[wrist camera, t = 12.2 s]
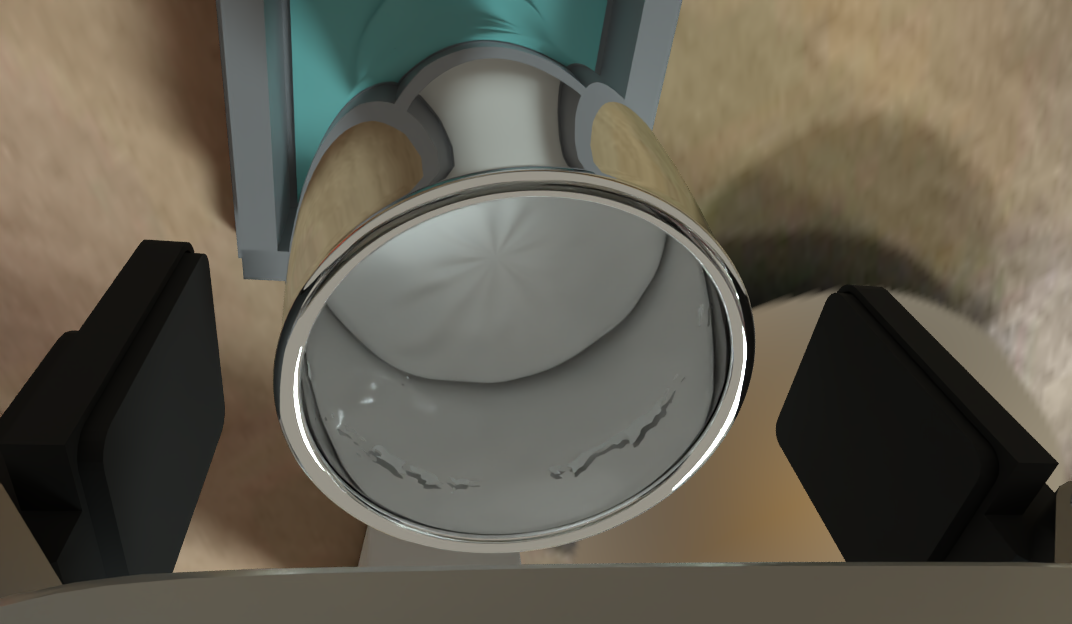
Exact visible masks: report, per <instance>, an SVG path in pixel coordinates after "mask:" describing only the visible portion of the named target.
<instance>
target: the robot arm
mask: <svg viewBox="0 0 1072 624" xmlns="http://www.w3.org/2000/svg"><path fill="white" fill-rule="evenodd" d="M224 416H225V403H224V394H223V385H222V376H221V367H220V358H219V349H218V340H217V331H216V322H215V313H214V304H213V295H212V286H211V277H210V268H209V261H208V258H207V256H206V254H200V253H194V249H193V247H192V245H191V244H190V243H189V242H174V241H159V240H143V241H142V242H141V243H140V245H139V246H138V247H137V249H136V250H135V252H134V253H133V254H132V256H131V257H130V259H129V260H128V262H127V263H126V264H125V266H124V267H123V269H122V270H121V271H120V273H119V274H118V276H117V277H116V279H115V280H114V281H113V283H112V284H111V286H110V287H109V289H108V290H107V291H106V293H105V294H104V296H103V297H102V298H101V300H100V301H99V303H98V304H97V306H96V307H95V308H94V310H93V311H92V313H91V314H90V315H89V317H88V318H87V320H86V321H85V323H84V324H83V325H82V327H81V328H80V330H79V331H69V332H65V333H64V334H63V335H62V336H61V337H60V338H59V339H58V340H57V342H56V343H55V344H54V346H53V347H52V348H51V350H50V351H49V352H48V354H47V355H46V357H45V358H44V359H43V361H42V362H41V363H40V365H39V366H38V367H37V369H36V370H35V372H34V373H33V374H32V376H31V377H30V378H29V380H28V381H27V382H26V384H25V385H24V387H23V388H22V389H21V391H20V392H19V393H18V395H17V396H16V397H15V399H14V400H13V402H12V403H11V404H10V406H9V407H8V408H7V410H6V411H5V412H4V414H3V415H2V417H1V418H0V624H1072V481H1069V482H1067V483H1065V484H1063V485H1061V486H1059V488H1058V489H1057V491H1056V492H1055V493H1054V492H1053V491H1052V490H1051V489H1050V488H1049V486H1048V485H1046V483H1045V482H1046V481H1047V480H1048V478H1049V477H1050V475H1051V474H1052V472H1053V471H1054V470H1055V468H1056V467H1057V465H1058V464H1059V463H1058V462H1057V461H1056V460H1055V459H1054V458H1053V457H1052V456H1051V455H1050V454H1049V453H1048V452H1047V451H1046V450H1045V449H1044V448H1043V447H1042V446H1041V445H1040V444H1039V443H1038V442H1037V441H1036V440H1035V439H1034V438H1033V437H1032V436H1031V435H1030V434H1029V433H1028V432H1027V431H1026V430H1025V429H1024V428H1023V427H1022V426H1021V425H1020V424H1019V423H1018V422H1017V421H1016V420H1015V419H1014V418H1013V417H1012V416H1011V415H1010V414H1009V413H1008V412H1007V411H1006V410H1005V409H1004V408H1003V407H1002V406H1001V405H1000V404H999V403H998V402H997V401H996V400H995V399H994V398H993V397H992V396H991V395H990V394H989V393H988V392H987V391H986V390H985V389H984V388H983V387H982V386H981V385H980V384H979V383H978V382H977V381H976V380H975V379H974V378H973V376H972V375H971V374H969V372H967V370H965V368H964V367H963V366H962V365H961V364H960V363H959V362H958V361H957V360H956V359H955V358H954V357H952V355H951V354H949V352H948V351H947V350H946V349H945V348H944V347H943V346H942V345H941V344H940V343H939V342H938V341H937V340H936V339H935V338H934V337H933V336H932V335H931V334H930V333H929V332H928V331H927V330H926V329H925V328H924V327H923V326H922V325H921V324H920V323H919V322H918V321H917V320H916V319H915V318H914V317H913V316H912V315H911V314H910V313H909V312H908V311H907V310H906V309H905V308H904V307H903V306H902V305H901V304H900V303H899V302H898V301H897V300H896V299H895V298H894V297H893V296H892V295H891V294H890V293H889V292H888V291H887V290H886V289H884V288H883V287H876V286H861V285H845V286H842V287H841V288H840V289H839V290H838V291H837V293H833V294H831V295H830V296H829V297H828V299H827V300H826V302H825V305H824V307H823V310H822V312H821V315H820V317H819V319H818V322H817V324H816V327H815V329H814V332H813V334H812V337H811V339H810V342H809V344H808V346H807V349H806V352H805V354H804V356H803V359H802V361H801V363H800V366H799V369H798V371H797V373H796V376H795V378H794V381H793V383H792V385H791V388H790V390H789V393H788V395H787V398H786V400H785V403H784V405H783V408H782V410H781V412H780V415H779V417H778V420H777V423H776V436H777V440H778V442H779V445H780V447H781V448H782V450H783V452H784V454H785V455H786V457H787V459H788V461H789V462H790V464H791V466H792V467H793V469H794V471H795V473H796V475H797V476H798V478H799V480H800V482H801V483H802V485H803V487H804V489H805V491H806V492H807V494H808V496H809V498H810V499H811V501H812V503H813V505H814V506H815V508H816V510H817V512H818V513H819V515H820V517H821V518H822V520H823V522H824V524H825V526H826V527H827V529H828V531H829V533H830V534H831V536H832V538H833V540H834V542H835V543H836V545H837V547H838V549H839V550H840V552H841V554H842V556H843V557H844V559H845V561H846V562H750V563H748V562H740V563H625V564H624V563H621V564H619V563H616V564H524V565H452V566H380V567H319V568H265V569H242V570H221V571H200V572H179V573H173V570H174V567H175V564H176V561H177V558H178V555H179V553H180V550H181V547H182V544H183V541H184V538H185V535H186V532H187V530H188V527H189V524H190V521H191V518H192V515H193V512H194V510H195V507H196V504H197V501H198V498H199V495H200V492H201V489H202V487H203V484H204V481H205V478H206V475H207V472H208V469H209V466H210V464H211V461H212V458H213V455H214V452H215V449H216V446H217V443H218V441H219V438H220V435H221V432H222V428H223V424H224Z"/></svg>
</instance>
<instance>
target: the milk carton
mask: <svg viewBox="0 0 1072 624" xmlns="http://www.w3.org/2000/svg"><path fill="white" fill-rule="evenodd" d="M452 565H521V559H520V553H519V552H515V553H495V554H480V553H464V552H455V551H447V550H441V549H435V548H430V547H426V546H421V545H418V544H414V543H411V542H407V541H404V540H401V539H398V538H396V537H393V536H390V535H388V534H385V533H383V532H381V531H379V530H376V529H374V528H372V527H370V526H368V527H367V531H366V535H365V539H364V543H363V547H362V551H361V555H360V559H359V564H358V567H380V566H452Z"/></svg>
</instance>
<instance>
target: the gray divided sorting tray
mask: <svg viewBox="0 0 1072 624" xmlns="http://www.w3.org/2000/svg"><path fill="white" fill-rule="evenodd" d="M384 1H385V0H216V8H217V19H218V31H219V42H220V53H221V65H222V76H223V87H224V99H225V110H226V121H227V133H228V144H229V156H230V167H231V178H232V190H233V201H234V212H235V224H236V235H237V246H238V258H242V264H243V276H244V279H255V280H278V281H286V272H287V263H288V254H289V247H290V240H291V236H292V231H293V226H294V221H295V216H296V211H297V206H298V202H299V198H300V194H301V190H302V187H303V184H304V181H305V178H306V176H307V173H308V170H309V167H310V165H311V162H312V159H313V157H314V154H315V151H316V149H317V146H318V144H319V141H320V139H321V137H322V135H323V133H324V131H325V130H326V128H327V126H328V124H329V123H330V121H331V120H332V118H333V117H334V115H335V114H336V112H337V111H338V109H339V108H340V106H341V105H342V104H343V102H344V101H345V99H346V98H347V97H348V95H349V94H350V92H351V91H352V90H353V89H354V87H355V86H356V59H357V53H358V48H359V44H360V41H361V38H362V35H363V33H364V30H365V28H366V26H367V24H368V22H369V21H370V19H371V17H372V16H373V14H374V13H375V12H376V10H377V9H378V8H379V7H380V5H381V4H382V3H383V2H384ZM527 1H528V2H529V3H530V4H531V5H532V6H533V7H534V8H535V9H536V11H537V12H538V13H539V15H540V16H541V18H542V19H543V21H544V22H545V24H546V26H547V28H548V30H549V32H550V34H551V36H552V39H553V41H554V44H555V47H556V48H558V49H560V50H562V51H564V52H565V53H567V54H568V55H570V56H572V57H573V58H575V59H576V60H578V61H579V62H581V63H582V64H584V65H586V66H587V67H589V68H590V69H591V70H593V71H594V72H596V73H597V74H598V75H600V76H601V77H602V78H603V79H604V80H606V81H607V82H608V83H609V84H610V85H611V86H612V87H613V88H614V89H615V90H616V91H617V92H618V93H619V94H620V95H621V96H622V97H623V98H624V100H625V101H626V102H627V103H628V104H629V105H630V106H631V107H632V108H633V109H634V110H635V111H636V113H637V114H638V115H639V116H640V117H641V118H642V119H643V120H644V122H645V123H646V124H647V125H648V127H649V128H650V129H651V131H652V129H653V125H654V120H655V116H656V112H657V107H658V103H659V99H660V94H661V90H662V86H663V81H664V77H665V73H666V68H667V64H668V60H669V55H670V51H671V47H672V42H673V38H674V34H675V29H676V25H677V21H678V16H679V12H680V8H681V3H682V0H527Z"/></svg>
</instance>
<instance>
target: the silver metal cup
mask: <svg viewBox="0 0 1072 624" xmlns="http://www.w3.org/2000/svg"><path fill="white" fill-rule="evenodd" d="M754 355H755V328H754V320H753V314H752V309H751V305H750V302H749V298H748V295H747V292H746V289H745V287H744V284H743V282H742V279H741V277H740V275H739V273H738V271H737V269H736V268H735V266H734V264H733V263H732V261H731V259H730V258H729V256H728V255H727V253H726V252H725V251H724V249H723V248H722V247H721V246H720V244H719V243H718V242H717V241H716V239H715V237H714V235H713V233H712V231H711V229H710V227H709V225H708V223H707V221H706V219H705V218H704V216H703V214H702V212H701V210H700V208H699V206H698V204H697V202H696V201H695V199H694V197H693V195H692V193H691V192H690V190H689V188H688V186H687V185H686V183H685V181H684V179H683V178H682V176H681V174H680V172H679V171H678V169H677V167H676V166H675V164H674V163H673V161H672V160H671V158H670V157H669V155H668V154H667V152H666V151H665V149H664V148H663V147H662V145H661V144H660V142H659V141H658V139H657V138H656V136H655V135H654V133H653V132H652V131H651V129H650V128H649V127H648V125H647V124H646V123H645V122H644V120H643V119H642V118H641V117H640V116H639V115H638V114H637V113H636V111H635V110H634V109H633V108H632V107H631V106H630V105H629V104H628V103H627V102H626V101H625V100H624V98H623V97H622V96H621V95H620V94H619V93H618V92H617V91H616V90H615V89H614V88H613V87H612V86H611V85H610V84H609V83H608V82H607V81H606V80H604V79H603V78H602V77H601V76H600V75H598V74H597V73H596V72H594V71H593V70H591V69H590V68H589V67H587V66H586V65H584V64H582V63H581V62H579V61H578V60H576V59H575V58H573V57H572V56H570V55H568V54H567V53H565V52H564V51H562V50H560V49H558V48H556V47H555V44H554V41H553V39H552V36H551V34H550V32H549V30H548V28H547V26H546V24H545V22H544V21H543V19H542V18H541V16H540V15H539V13H538V12H537V11H536V9H535V8H534V7H533V6H532V5H531V4H530V3H529V2H528V1H527V0H385V1H384V2H383V3H382V4H381V5H380V7H379V8H378V9H377V10H376V12H375V13H374V14H373V16H372V17H371V19H370V21H369V22H368V24H367V26H366V28H365V30H364V33H363V35H362V38H361V41H360V44H359V48H358V53H357V59H356V86H355V87H354V89H353V90H352V91H351V92H350V94H349V95H348V97H347V98H346V99H345V101H344V102H343V104H342V105H341V106H340V108H339V109H338V111H337V112H336V114H335V115H334V117H333V118H332V120H331V121H330V123H329V124H328V126H327V128H326V130H325V131H324V133H323V135H322V137H321V139H320V141H319V144H318V146H317V149H316V151H315V154H314V157H313V159H312V162H311V165H310V167H309V170H308V173H307V176H306V178H305V181H304V184H303V187H302V190H301V194H300V198H299V202H298V206H297V211H296V216H295V221H294V226H293V231H292V236H291V240H290V247H289V254H288V263H287V272H286V281H285V291H284V302H283V316H282V328H281V333H280V336H279V340H278V344H277V348H276V353H275V360H274V370H273V391H274V400H275V406H276V412H277V416H278V420H279V424H280V427H281V430H282V433H283V435H284V438H285V440H286V442H287V444H288V447H289V449H290V451H291V452H292V454H293V456H294V458H295V459H296V461H297V463H298V464H299V466H300V467H301V469H302V470H303V471H304V473H305V474H306V475H307V476H308V478H309V479H310V480H311V481H312V482H313V483H314V485H315V486H316V487H317V488H318V489H319V490H320V491H321V492H322V493H323V494H324V495H325V496H327V497H328V498H329V499H330V500H331V501H332V502H334V503H335V504H336V505H337V506H339V507H340V508H341V509H343V510H344V511H345V512H347V513H348V514H350V515H351V516H353V517H354V518H356V519H358V520H359V521H361V522H363V523H365V524H366V525H368V526H370V527H372V528H374V529H376V530H379V531H381V532H383V533H385V534H388V535H390V536H393V537H396V538H398V539H401V540H404V541H407V542H411V543H414V544H418V545H421V546H426V547H430V548H435V549H441V550H447V551H455V552H464V553H480V554H495V553H515V552H525V551H533V550H539V549H545V548H550V547H555V546H559V545H564V544H568V543H571V542H575V541H578V540H581V539H585V538H587V537H591V536H593V535H596V534H599V533H601V532H604V531H607V530H609V529H611V528H614V527H616V526H618V525H620V524H622V523H624V522H626V521H628V520H630V519H632V518H634V517H636V516H638V515H640V514H641V513H643V512H645V511H646V510H648V509H650V508H651V507H653V506H654V505H656V504H658V503H659V502H660V501H662V500H663V499H665V498H666V497H667V496H669V495H670V494H672V493H673V492H674V491H675V490H677V489H678V488H679V487H680V486H681V485H683V484H684V483H685V482H686V481H687V480H688V479H689V478H690V477H692V476H693V475H694V474H695V473H696V472H697V471H698V470H699V469H700V468H701V466H703V464H704V463H705V462H706V461H707V460H708V459H709V458H710V456H711V455H712V454H713V453H714V451H715V450H716V449H717V448H718V446H719V445H720V443H721V442H722V441H723V439H724V438H725V436H726V435H727V433H728V432H729V430H730V428H731V426H732V425H733V423H734V421H735V419H736V417H737V415H738V413H739V411H740V408H741V406H742V404H743V401H744V399H745V396H746V393H747V390H748V387H749V383H750V379H751V375H752V370H753V364H754Z"/></svg>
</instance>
